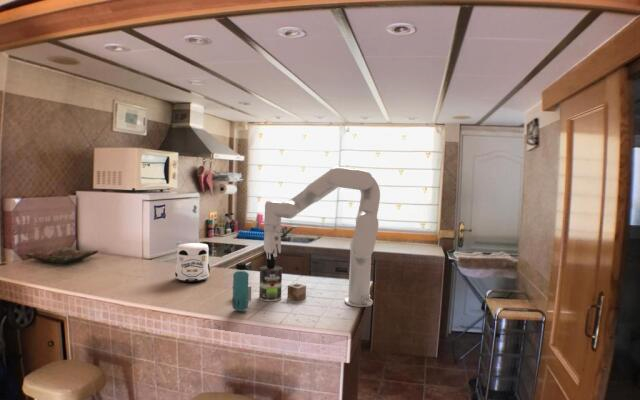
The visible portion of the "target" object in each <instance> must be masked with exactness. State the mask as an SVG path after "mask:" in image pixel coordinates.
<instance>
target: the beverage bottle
mask: <svg viewBox="0 0 640 400" xmlns="http://www.w3.org/2000/svg"><path fill="white" fill-rule="evenodd" d="M235 270H236V271H235V272H234V273H233V280H232V300H231V303H232V309H233V310H236V311H244V310H247V309H248V306H249V300H248V283H249V275H250V274H249V273H248V272H247V271H246V270H247V264H246V263H244V262H238V263H236V265H235Z"/></svg>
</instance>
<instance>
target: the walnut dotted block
mask: <svg viewBox="0 0 640 400" xmlns="http://www.w3.org/2000/svg"><path fill="white" fill-rule="evenodd" d="M286 297H287V299H289V300H291V301H295V302H299V301H302V300H304V299H306V298H307V285H305V284H301V283H298V282H296V283H292V284H288V285H287V295H286Z"/></svg>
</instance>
